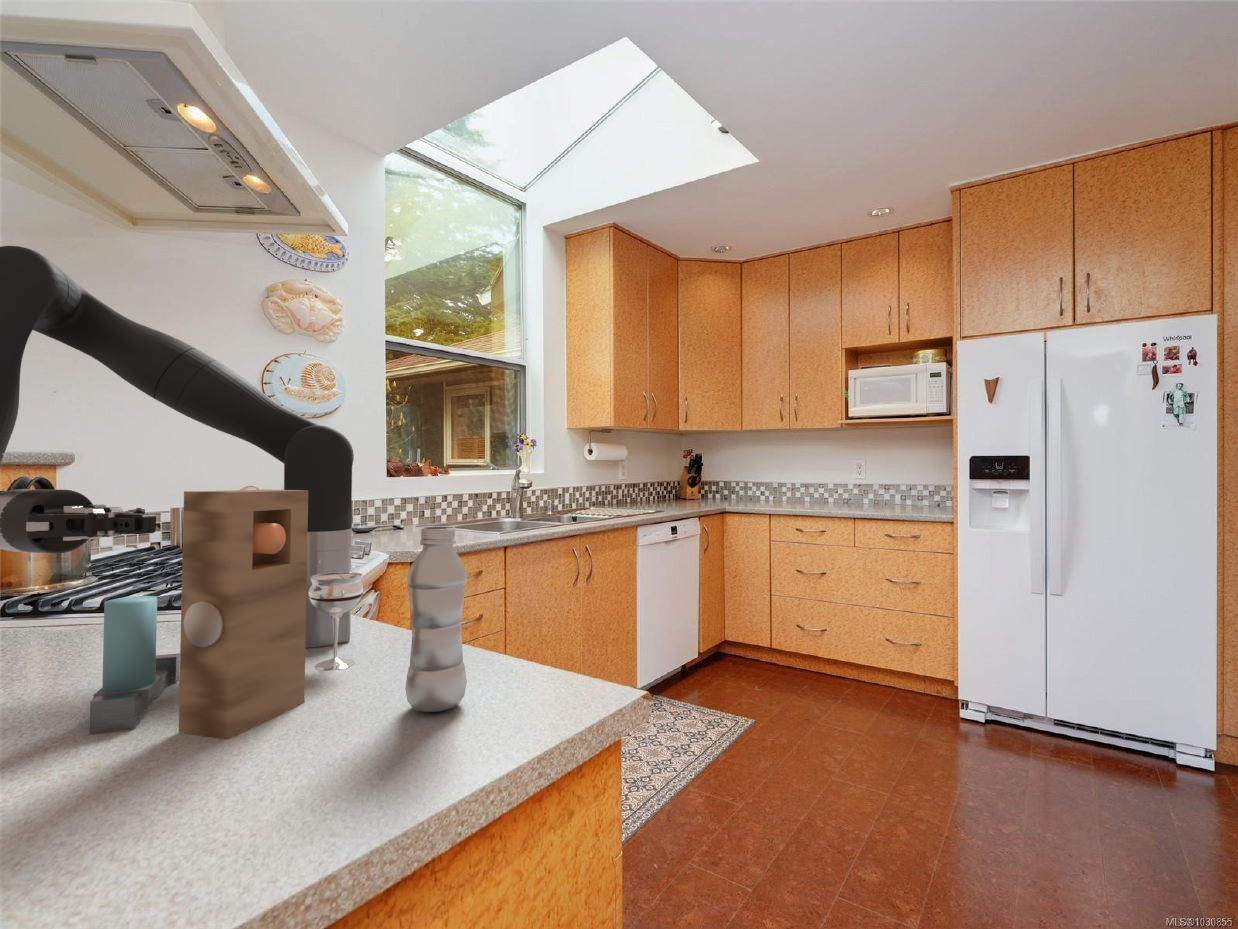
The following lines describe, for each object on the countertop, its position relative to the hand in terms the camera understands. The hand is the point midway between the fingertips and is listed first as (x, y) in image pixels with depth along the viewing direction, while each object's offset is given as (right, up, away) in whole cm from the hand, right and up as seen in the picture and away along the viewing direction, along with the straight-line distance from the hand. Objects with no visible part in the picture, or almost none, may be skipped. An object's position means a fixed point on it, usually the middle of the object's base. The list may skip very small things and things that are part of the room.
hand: (149, 524), depth 68 cm
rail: (-1, -20, 0) cm, 20 cm away
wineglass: (+14, -21, +14) cm, 29 cm away
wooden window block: (+13, -20, -4) cm, 24 cm away
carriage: (+1, -18, -4) cm, 18 cm away
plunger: (+13, -3, -3) cm, 14 cm away
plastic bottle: (+33, -20, -1) cm, 39 cm away
